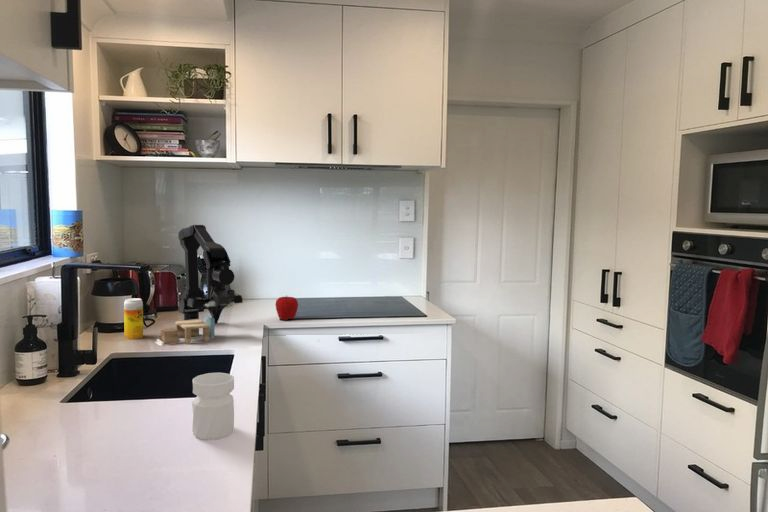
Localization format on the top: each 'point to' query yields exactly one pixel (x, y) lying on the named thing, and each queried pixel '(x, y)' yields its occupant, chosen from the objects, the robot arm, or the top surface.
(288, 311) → the apple
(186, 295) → the robot arm
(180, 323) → the tunnel
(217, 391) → the pill bottle
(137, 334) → the beer can
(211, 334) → the sled
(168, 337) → the block
